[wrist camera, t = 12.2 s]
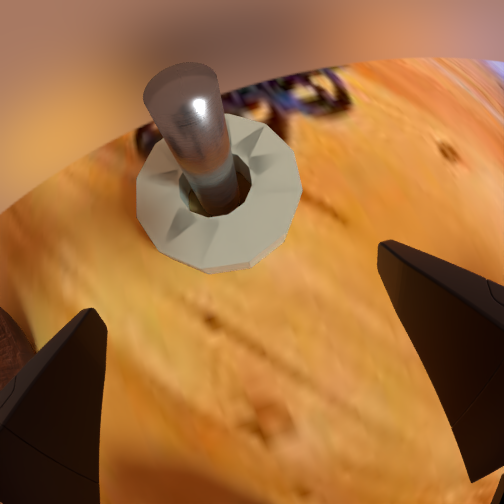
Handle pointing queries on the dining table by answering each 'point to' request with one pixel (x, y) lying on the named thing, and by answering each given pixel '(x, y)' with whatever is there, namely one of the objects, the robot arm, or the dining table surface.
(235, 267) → the grey ring
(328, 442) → the dining table surface
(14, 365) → the wooden sphere
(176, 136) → the metal peg
